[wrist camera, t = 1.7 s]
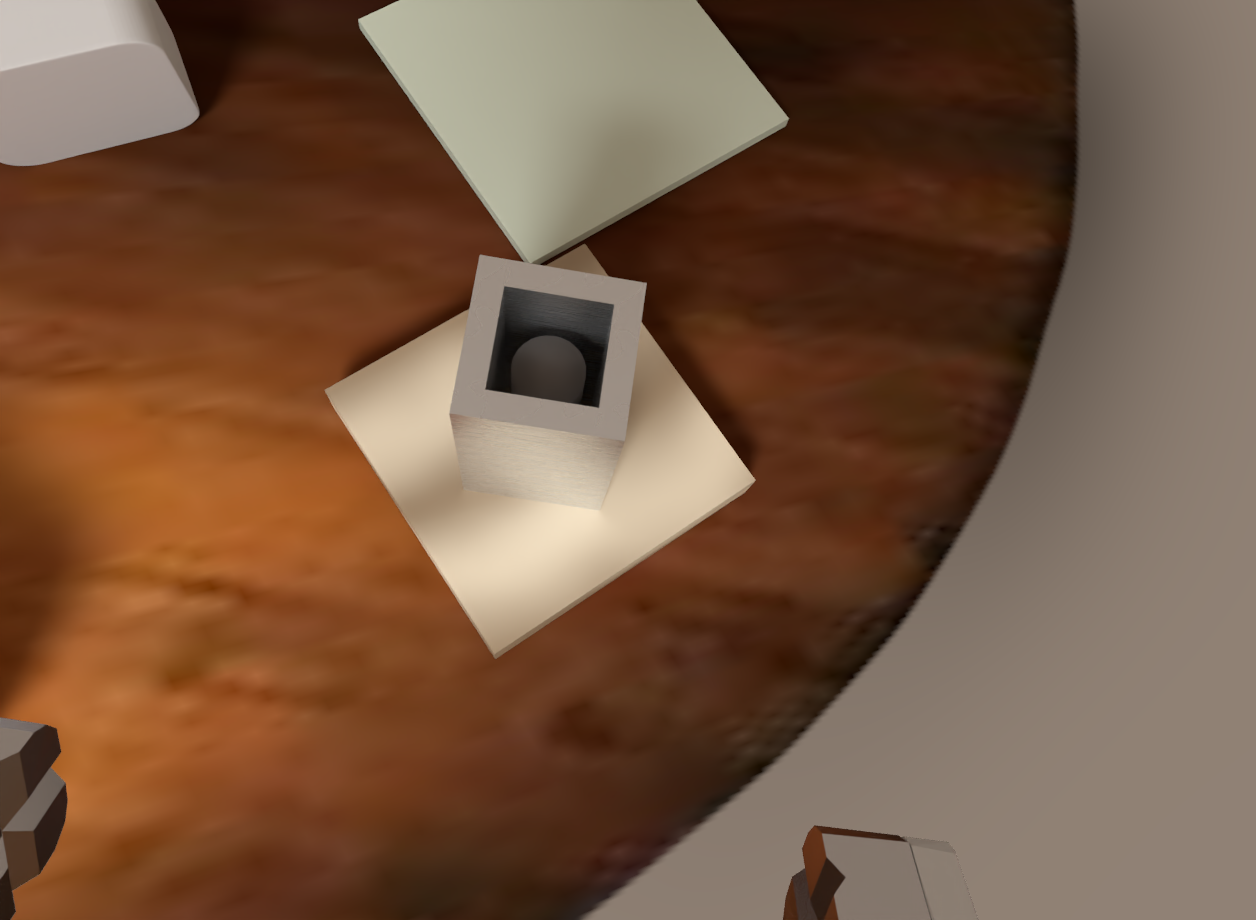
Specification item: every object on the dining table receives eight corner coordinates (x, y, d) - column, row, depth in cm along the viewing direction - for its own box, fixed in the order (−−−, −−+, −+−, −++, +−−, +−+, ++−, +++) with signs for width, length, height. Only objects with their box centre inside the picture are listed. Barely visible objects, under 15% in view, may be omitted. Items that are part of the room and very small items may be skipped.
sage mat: (359, 28, 45) (358, 19, 45) (615, -91, 49) (616, -101, 48) (529, 269, 43) (530, 263, 42) (785, 126, 46) (789, 118, 46)
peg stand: (333, 407, 40) (284, 313, 32) (581, 266, 43) (598, 145, 35) (495, 659, 38) (490, 632, 30) (744, 492, 41) (805, 424, 33)
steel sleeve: (599, 510, 38) (625, 441, 30) (463, 489, 38) (448, 413, 29) (617, 384, 40) (646, 283, 31) (487, 363, 39) (479, 254, 31)
